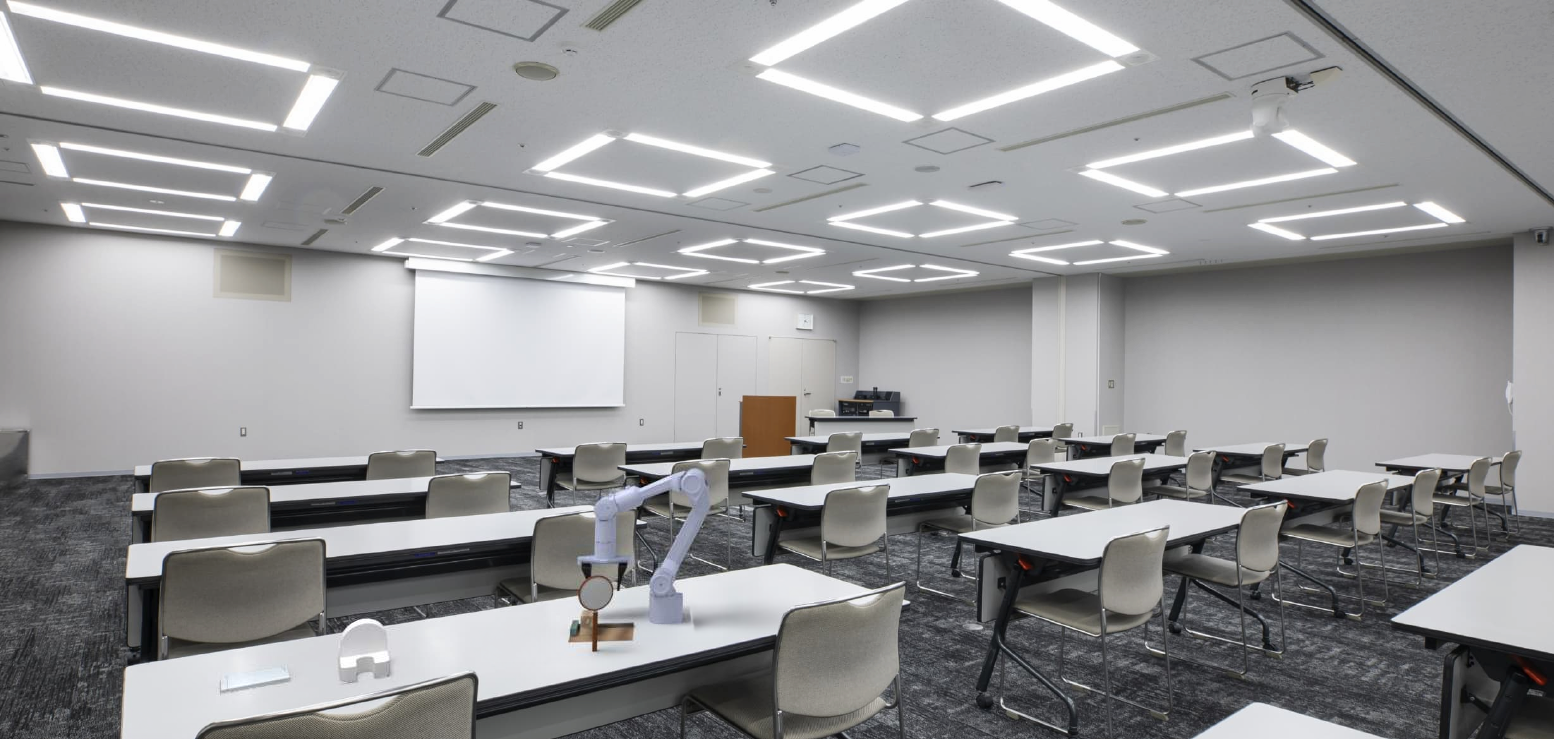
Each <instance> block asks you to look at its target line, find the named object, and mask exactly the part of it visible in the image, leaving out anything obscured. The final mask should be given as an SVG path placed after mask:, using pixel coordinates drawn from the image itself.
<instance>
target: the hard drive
mask: <svg viewBox="0 0 1554 739" xmlns="http://www.w3.org/2000/svg"><path fill="white" fill-rule="evenodd" d="M220 681H221V683H220V694H221V693H226V692H231V693H235V692H234V691H236V692H239V691H238V690H242V691H245V689H247V690H250V689H249V688H253V689H257V688H256V687H258V688H263V687H268V686H267V685H269V686H274V685H277V684H283V683H290V682H291V676H290V670H289V666H288V665H283V666H278V667H277V666H276V667H272V668H266V669H262V670H255V671H254V670H253V671H249V672H243V673H238V674H237V673H236V674H232V675H226V676H221V677H220ZM226 694H227V693H226Z"/></svg>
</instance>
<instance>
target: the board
mask: <svg viewBox="0 0 1554 739" xmlns="http://www.w3.org/2000/svg"><path fill="white" fill-rule="evenodd" d="M634 629H635V622H632V621H631V622H598V633H597V643H598V642H630V641H633V639H634ZM567 643H592V635H590V636H580V621H579V619H575V620H574V619H573V620H572V621H571V624H570V628H569V637H568V641H567Z"/></svg>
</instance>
